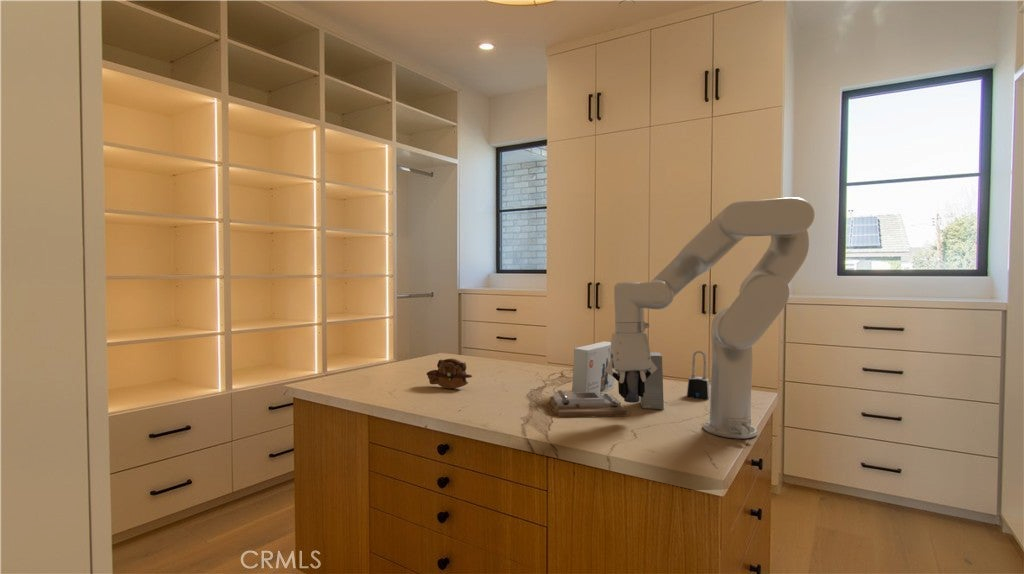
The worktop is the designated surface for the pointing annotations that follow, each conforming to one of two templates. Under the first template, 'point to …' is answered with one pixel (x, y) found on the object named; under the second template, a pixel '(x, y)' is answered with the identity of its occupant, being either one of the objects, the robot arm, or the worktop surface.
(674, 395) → the worktop surface
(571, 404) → the grey tray
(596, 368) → the skincare box
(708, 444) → the worktop surface
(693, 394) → the padlock
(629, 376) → the pin
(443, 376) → the wooden carving
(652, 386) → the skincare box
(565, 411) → the walnut board
